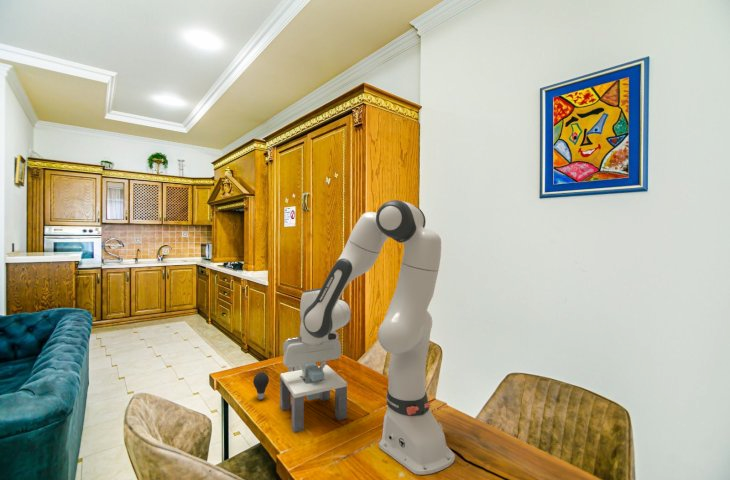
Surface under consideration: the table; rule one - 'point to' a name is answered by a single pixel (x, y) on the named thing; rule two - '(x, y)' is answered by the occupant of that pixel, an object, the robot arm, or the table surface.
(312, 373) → the peg
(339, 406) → the cutout shelf
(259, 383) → the light bulb
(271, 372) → the table surface
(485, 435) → the table surface
